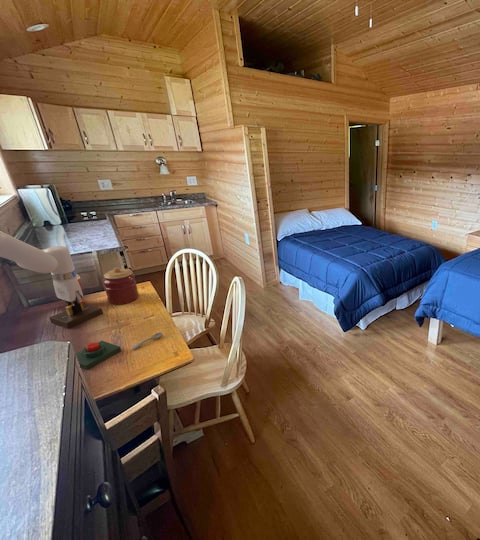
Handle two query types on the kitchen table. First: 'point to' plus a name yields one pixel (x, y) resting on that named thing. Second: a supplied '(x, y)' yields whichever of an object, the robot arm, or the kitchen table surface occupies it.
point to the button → (92, 347)
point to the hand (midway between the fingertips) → (75, 311)
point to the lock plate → (76, 316)
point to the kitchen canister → (120, 286)
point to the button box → (97, 355)
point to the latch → (69, 309)
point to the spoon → (147, 340)
